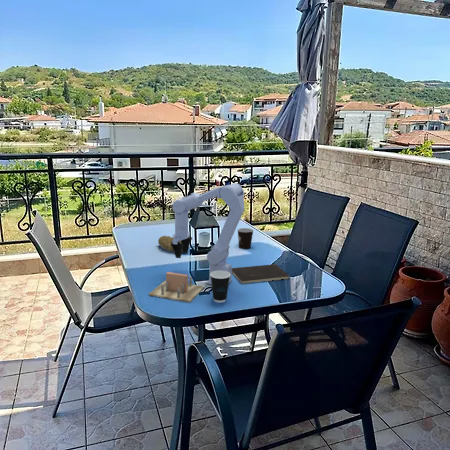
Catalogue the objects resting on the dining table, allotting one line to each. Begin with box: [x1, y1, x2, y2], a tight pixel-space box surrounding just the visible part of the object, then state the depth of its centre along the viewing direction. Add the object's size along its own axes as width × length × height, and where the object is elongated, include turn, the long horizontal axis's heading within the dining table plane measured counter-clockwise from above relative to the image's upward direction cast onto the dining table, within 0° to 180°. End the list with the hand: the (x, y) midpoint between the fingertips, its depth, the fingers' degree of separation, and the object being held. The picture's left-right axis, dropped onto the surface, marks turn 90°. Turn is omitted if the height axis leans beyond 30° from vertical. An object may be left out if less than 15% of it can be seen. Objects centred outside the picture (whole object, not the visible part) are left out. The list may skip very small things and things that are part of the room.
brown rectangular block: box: [165, 271, 189, 292], centre depth 168 cm, size 9×2×7 cm, turn 71°
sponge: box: [158, 235, 183, 253], centre depth 222 cm, size 13×8×20 cm
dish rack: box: [148, 276, 205, 304], centre depth 168 cm, size 18×15×5 cm
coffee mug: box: [237, 227, 254, 250], centre depth 229 cm, size 12×9×10 cm
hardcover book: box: [232, 263, 290, 285], centre depth 189 cm, size 16×23×2 cm
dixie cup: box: [210, 271, 230, 304], centre depth 161 cm, size 8×8×11 cm
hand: (181, 255), depth 185 cm, fingers open, 7 cm apart
